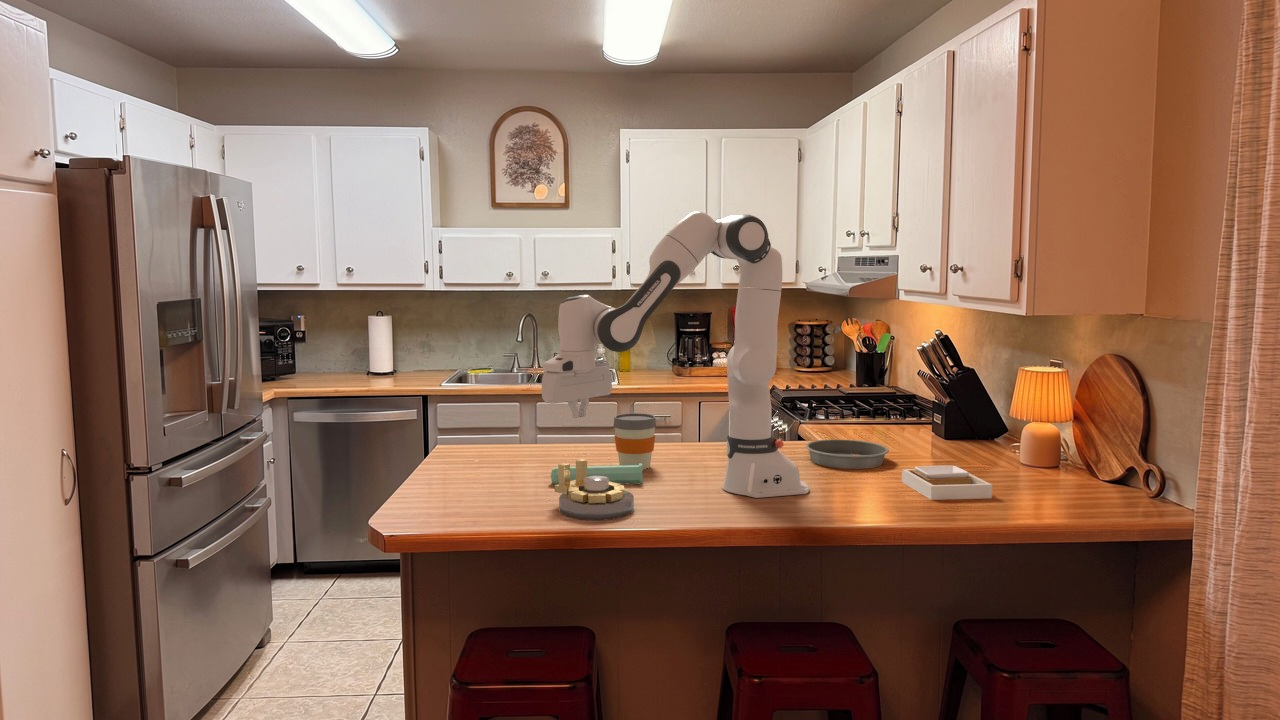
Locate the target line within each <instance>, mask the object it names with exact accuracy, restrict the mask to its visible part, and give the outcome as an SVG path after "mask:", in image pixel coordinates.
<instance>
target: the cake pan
mask: <svg viewBox="0 0 1280 720" xmlns="http://www.w3.org/2000/svg"><path fill="white" fill-rule="evenodd" d="M805 448H806V449H807V450H808V453H809V457H810V461H811V462H813V463H814V464H817V465H819V466H823V467H829V468H837V469H846V470H851V469H852V470H853V469H854V470H858V469H859V470H861V469H862V470H863V469H871V468H872V469H873V468H876V467H879V466H882V464H883V463H884V458H885V457H886V455H887V454H888V453H889V451H890V450H889V448H888V447H886V446H884V445H882V444H879V443H876V442H875V443H874V442H870V441H866V440H854V439H843V438H842V439H841V438H840V439H834V438H833V439H821V440H814V441H810V442H808V443H806V445H805Z"/></svg>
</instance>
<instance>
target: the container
mask: <svg viewBox="0 0 1280 720" xmlns="http://www.w3.org/2000/svg"><path fill="white" fill-rule="evenodd" d="M589 476H605V477H608V478H609V482H614V483H618V484H621V485H626V484H625V483H629V484H628V485H630V484H631V485H632V484H633V485H635V484H636V485H638V484H641V485H643V484H644V481H643V478H644V477H643V470H642V463H641V464H639V465H626V466H620V465H592V466H591V465H587V477H589ZM549 477H550V479H551V480H550V481H551V484H553V485H554V484H555V485H558V484H559V481H558V466H555V467H553V468H552V469H551V471H550V476H549ZM573 480H576V466H570V481H573ZM555 485H554V486H555Z"/></svg>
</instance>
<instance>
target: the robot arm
mask: <svg viewBox="0 0 1280 720" xmlns="http://www.w3.org/2000/svg"><path fill="white" fill-rule="evenodd" d="M709 254H712V255H714V256H716V257H718V258H721V259H729V260H736V262H737V263H738V266H739V274H740V275H739V279H738V280H739V281H738V287H737V290H738V291H737V296H736V304H735V305H736V306H735V314H734V343H733V346H732V347H731V348H730V349H729V351H728V354H727V357H726V370H727V371H726V372H727V374H726V375H727V376H726V377H727V391H728V392H727V393H728V413H729V414H728V435H727V437H726V438H727V439H726V456H727V464H726V471H725V475H724V480H723V484H722V486H721V487H722V489H723V490H724V491H725V492H728V493H731V494H736V495H742V496H748V497H752V498H757V499H761V498H769V497H771V498H772V497H773V498H774V497H782V496H793V495H794V496H795V495H806V494H808V493H809V491H810V489H809V488H810V487H809V485H808V484H807V483H806V482H805V481H803V480H801V477H800V471H799V469H798V466H797V465H796V463H795V462H793V461H792V460H791V459H790V458H789V457H787V455H785V454H783V453H782V452H781V451H779V449H782V448H783V447H784V445H785V444H784V441H783V440H781V439H778V438H776V437H775V436H773V435H772V411H773V410H772V408H773V407H772V403H771V393H770V392H771V391H770V382H771V380H772V379H773V378H774V376H775V375H776V373H777V372H776V371H777V361H778V360H777V357H778V323H779V322H778V321H779V311H780V304H781V296H782V288H783V258H782V255H781V253H780V252H779V250H777V249H776V248H774V247H773V246H772V245H771V241H770V238H769V233H768V229H767V227H766V225H765V223H764V222H763V220H761V219H760V218H758V217H757V216H755V215H751V214H732V215H729V216H726V217H720V218H717V219H713V217H712V216H710V215H709V214H708V213H705V212H702V211H692V212H691V213H689V214H687V215H686V216H685V217H684V218H682V219H681V220H680V221H679V222H678V223H676V224H675V225H674V226H673V227H672V228H671V229H670V230H668V232H667V233H666V234H665V235H664V236H663V237H662V238H661V240H659V242H658V243H657V245H656V246H655V248H654V249H653V251H652V253H651V254H650V256H649V271H648V274H647V276H646V278H645V280H644V281H643V282H642V283H641V285H640V286H638V288H637V289H636V291H635V292H634V293H633V294H632V295H631V297H630V298H629V299H628V300H627V301H626V302H625V303H624V304H623V305H621V306H619V307H613V306H609V305H607V304H605V303H602V302H600V301H599V300H596V299H595V298H593V297H592V296H591V295H589V294H580V295H574V296H570V297H567V298H564V299H563V300H562V301H561V302H560V304H559V309H558V316H557V317H558V321H557V322H558V323H557V324H558V326H557V328H558V335H559V339H560V342H559V347H558V354H557V355H555V356H553V357H552V358H550V359H548V360H546V361H544V362H543V363H542V370H543V371H544V374H543V375H542V378H541V398H542V400H543V401H544V402H545V403H546V404H553V405H554V404H560V403H566V402H567V405H568V407H569V408H570V410H571V411H572V412H571V416H572V418H573V419H578V418H583V417H586V415H587V413H586V410H587V409H588V406H589V403H590V399H591V398H596V397H602V396H609V395H611V394H612V392H613V382H612V375H611V371H610V363H609V362H608V360H606V359H605V358H600V359H599V358H598V359H596V346H597V345H602V346H604V347H605V348H606V349H608V350H610V351H611V352H615V353H616V352H617V353H622V352H623V353H624V352H627V351H629V350H632V348H634V347H635V346H636V344H637V343H638V342H639V340H640V337H641V335H642V332H643V329H644V326H645V324H646V322H647V321H648V320H649V318H650V317H651V315H652V314H653V313H654V312H655V310H657V308H658V307H659V306H660V304H661V303H662V302H663V301H664V300H665V298H666V297H667V296H668V295H669V294H670V293H671V291H672V290H674V289H675V287H676V286H679V284H680V283H681V282H682V281H683V280H684V279H686V277H688V276H690V274H691V273H692V272H693V271H694V270H696V268H697V267H698V266H699V264H701V262H702V261H703V260H704V258H706V257H707V256H708V255H709ZM579 403H580V405H579V407H578V406H577V405H578V404H579Z"/></svg>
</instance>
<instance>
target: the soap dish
mask: <svg viewBox="0 0 1280 720" xmlns="http://www.w3.org/2000/svg"><path fill="white" fill-rule="evenodd" d="M914 469H915V470H913V471H912V473H913V474H915V475H916V476H918V477H920V478H922V479H923V480H925V481H927V482H929V483H931V484H932V485H960V484H970V483H971V481H972V478H971V477H969V476H968V475H969V474H970V472H969V471H967V470H965V469H962V468H961V467H958V466H955V465H928V466H927V465H924V466H915V467H914Z"/></svg>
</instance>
